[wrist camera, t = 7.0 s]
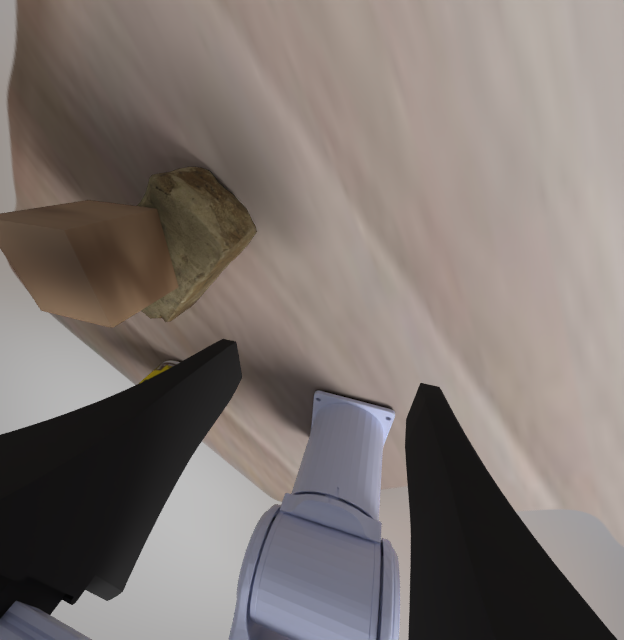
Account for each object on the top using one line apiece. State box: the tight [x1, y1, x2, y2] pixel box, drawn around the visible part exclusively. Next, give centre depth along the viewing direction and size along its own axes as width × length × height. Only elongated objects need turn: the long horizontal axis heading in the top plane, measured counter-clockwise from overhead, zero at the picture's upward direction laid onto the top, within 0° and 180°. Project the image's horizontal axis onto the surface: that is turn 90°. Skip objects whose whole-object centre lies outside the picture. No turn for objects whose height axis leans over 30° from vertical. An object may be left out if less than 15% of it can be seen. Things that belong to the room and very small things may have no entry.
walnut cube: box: [0, 200, 179, 328], centre depth 14 cm, size 5×5×5 cm
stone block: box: [137, 167, 257, 322], centre depth 19 cm, size 6×12×5 cm, turn 135°
